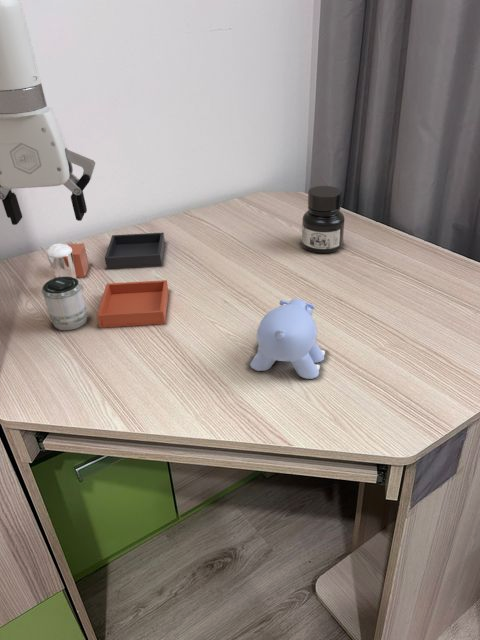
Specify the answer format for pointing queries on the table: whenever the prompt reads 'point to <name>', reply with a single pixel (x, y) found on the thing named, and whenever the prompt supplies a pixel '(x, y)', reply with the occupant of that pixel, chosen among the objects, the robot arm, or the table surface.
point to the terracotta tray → (133, 304)
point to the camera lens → (65, 303)
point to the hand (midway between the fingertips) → (49, 219)
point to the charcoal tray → (135, 250)
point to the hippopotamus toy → (289, 339)
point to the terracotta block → (79, 259)
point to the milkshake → (61, 260)
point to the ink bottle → (323, 220)
